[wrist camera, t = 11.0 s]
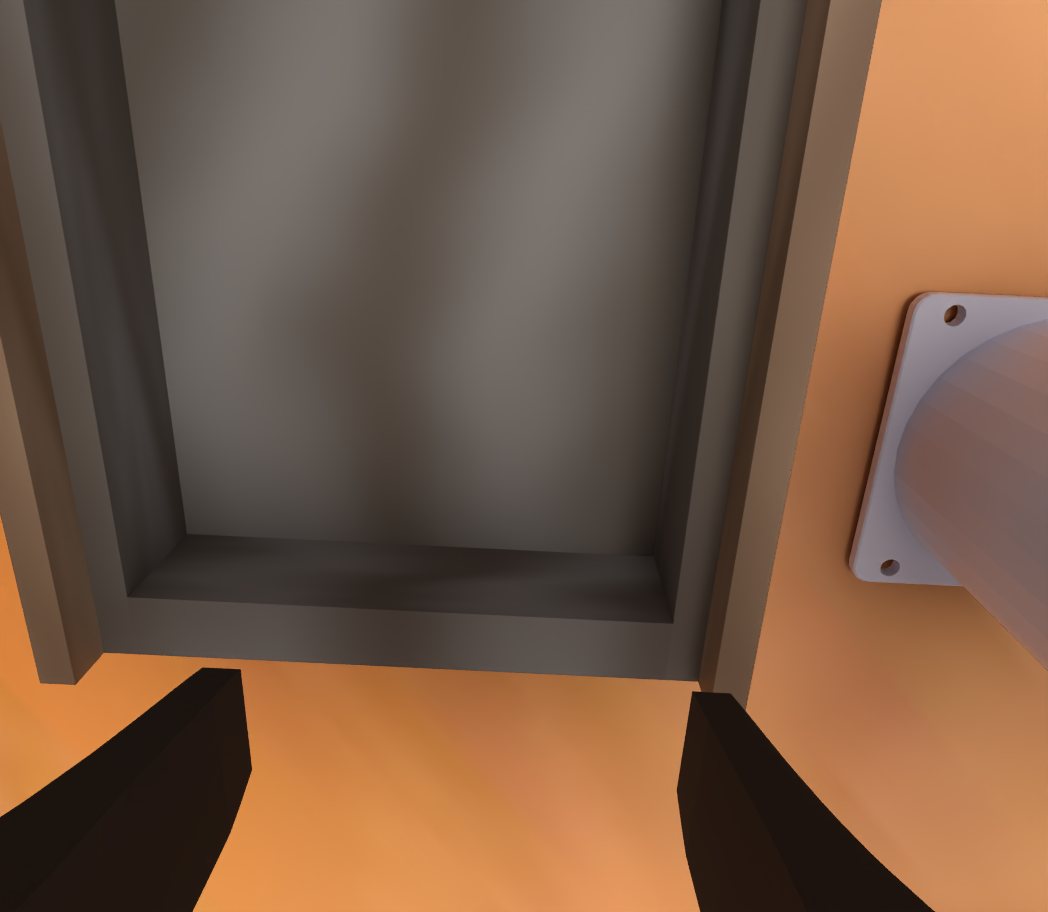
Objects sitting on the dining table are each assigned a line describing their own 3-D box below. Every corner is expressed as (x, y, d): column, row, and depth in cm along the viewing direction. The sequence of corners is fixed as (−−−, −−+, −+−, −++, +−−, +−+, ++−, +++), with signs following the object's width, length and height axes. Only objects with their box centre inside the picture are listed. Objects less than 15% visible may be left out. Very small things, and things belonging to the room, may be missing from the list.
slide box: (814, -169, 15) (943, -323, 10) (698, 594, 22) (744, 717, 17) (28, -207, 15) (-211, -380, 10) (150, 567, 22) (40, 682, 17)
